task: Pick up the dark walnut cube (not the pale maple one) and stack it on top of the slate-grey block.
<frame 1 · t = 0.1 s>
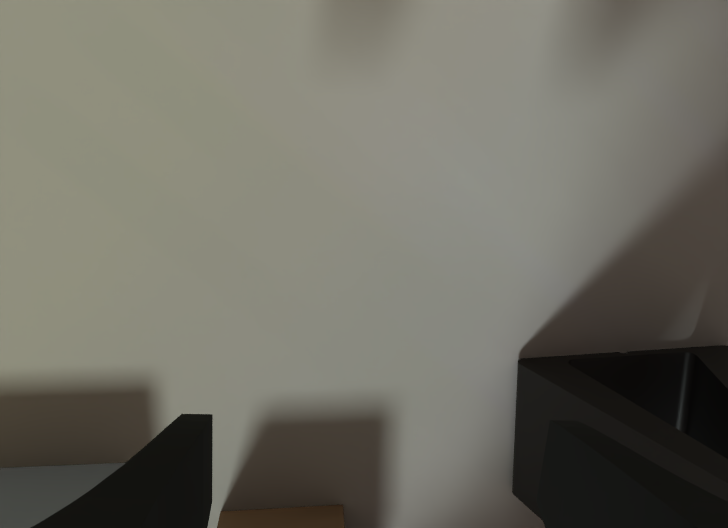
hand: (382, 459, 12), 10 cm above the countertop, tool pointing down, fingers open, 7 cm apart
grey base block: (58, 527, 23), on the countertop
phone stand: (614, 415, 24), on the countertop
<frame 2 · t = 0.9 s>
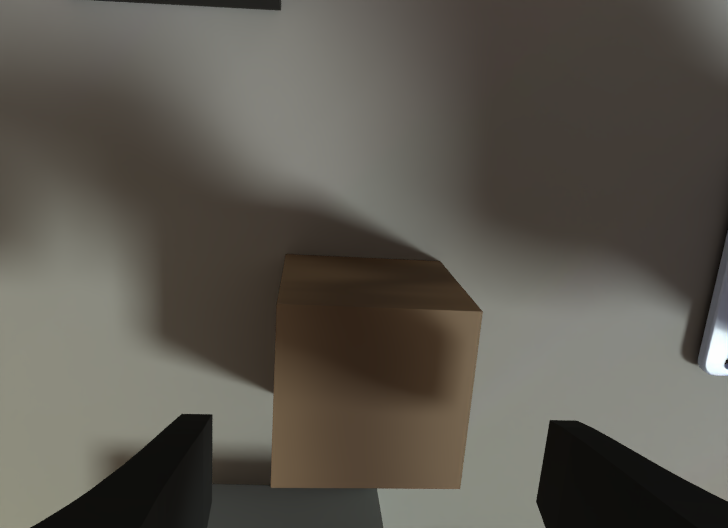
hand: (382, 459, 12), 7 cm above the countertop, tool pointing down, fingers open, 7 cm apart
walnut cube: (358, 329, 19), on the countertop
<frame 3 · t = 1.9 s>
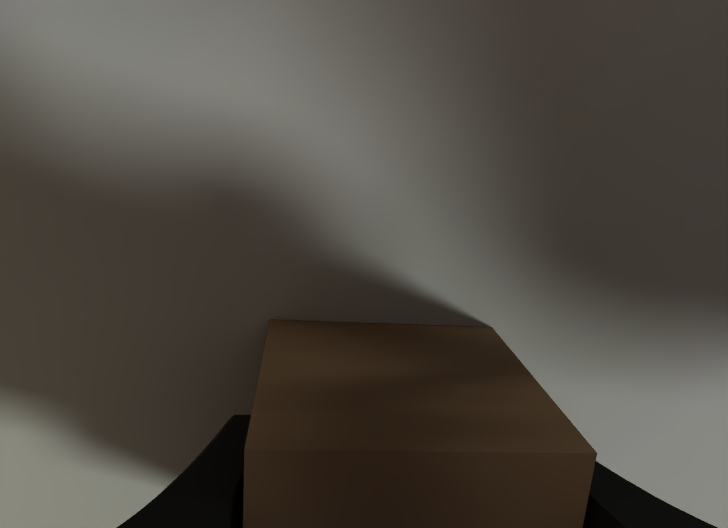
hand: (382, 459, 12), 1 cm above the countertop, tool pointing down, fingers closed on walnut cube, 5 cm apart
walnut cube: (374, 423, 13), on the countertop, touching gripper
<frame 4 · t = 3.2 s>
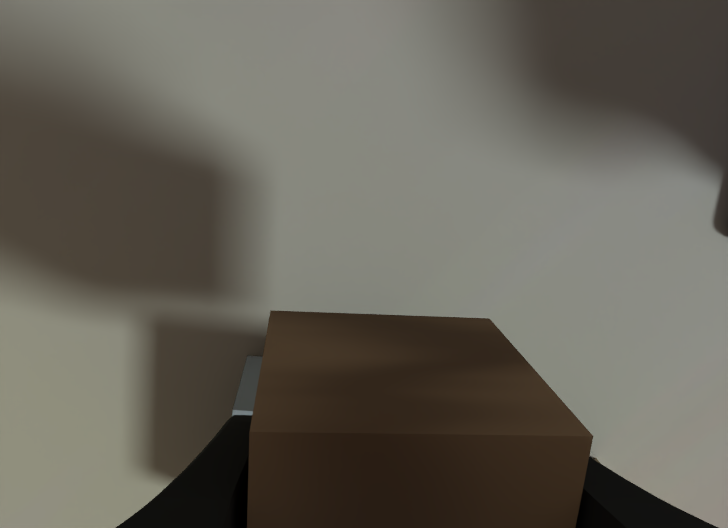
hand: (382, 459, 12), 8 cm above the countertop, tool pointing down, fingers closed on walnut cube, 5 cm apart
grey base block: (323, 433, 22), on the countertop
walnut cube: (373, 414, 14), point 7 cm above the countertop, touching gripper
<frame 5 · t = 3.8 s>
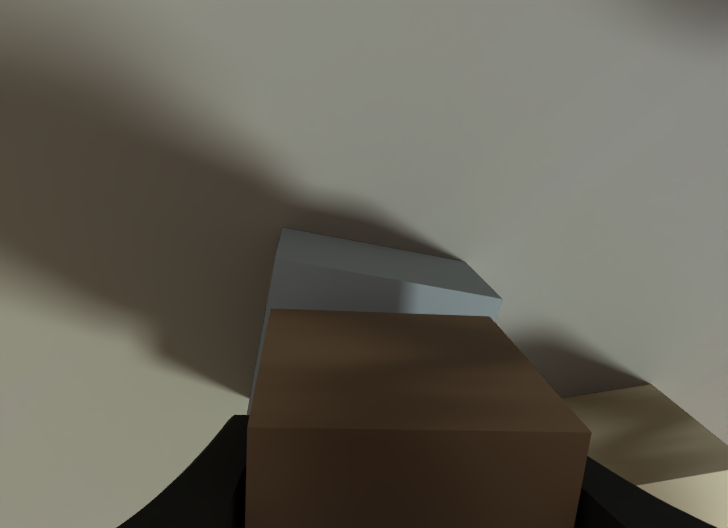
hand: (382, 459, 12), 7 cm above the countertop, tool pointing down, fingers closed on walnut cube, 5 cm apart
maple cube: (584, 454, 21), on the countertop
grey base block: (356, 329, 19), on the countertop
walnut cube: (374, 412, 14), point 6 cm above the countertop, touching gripper
when the fingers open (7 cm above the countertop, at t = 4.3 s): walnut cube drops 1 cm, resting on grey base block.
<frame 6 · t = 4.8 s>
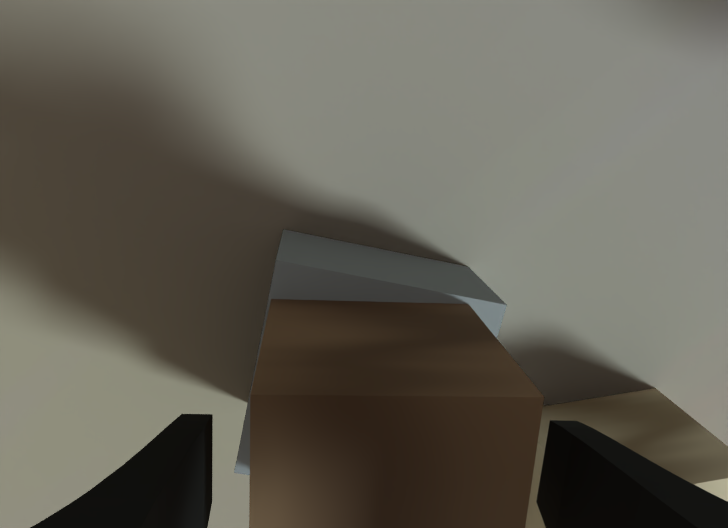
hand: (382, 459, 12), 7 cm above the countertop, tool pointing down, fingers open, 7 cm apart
maple cube: (587, 459, 21), on the countertop
grey base block: (356, 333, 19), on the countertop, touching walnut cube
walnut cube: (365, 391, 15), point 4 cm above the countertop, touching grey base block
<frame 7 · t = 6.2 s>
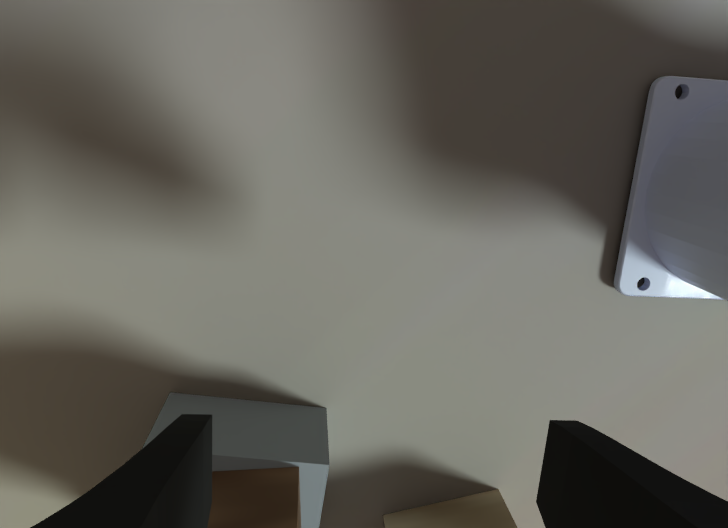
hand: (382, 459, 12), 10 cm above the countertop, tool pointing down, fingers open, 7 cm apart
grey base block: (241, 464, 23), on the countertop
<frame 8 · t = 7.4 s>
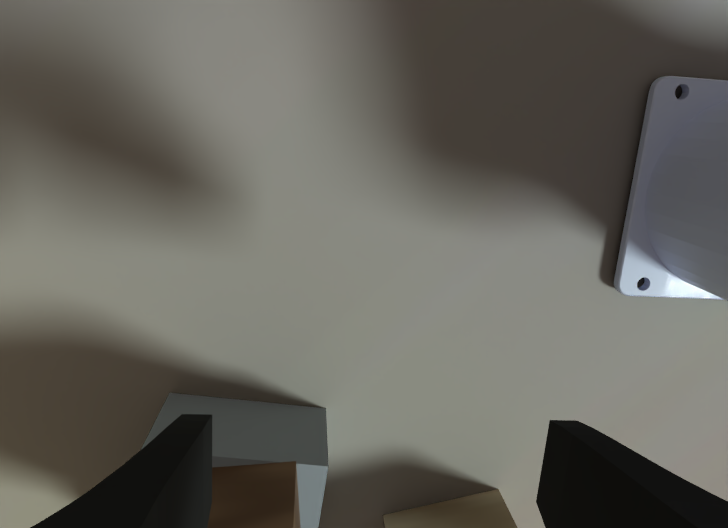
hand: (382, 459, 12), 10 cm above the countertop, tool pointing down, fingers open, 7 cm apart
grey base block: (241, 465, 23), on the countertop, touching walnut cube
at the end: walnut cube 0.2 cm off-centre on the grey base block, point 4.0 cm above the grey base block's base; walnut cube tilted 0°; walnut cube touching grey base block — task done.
